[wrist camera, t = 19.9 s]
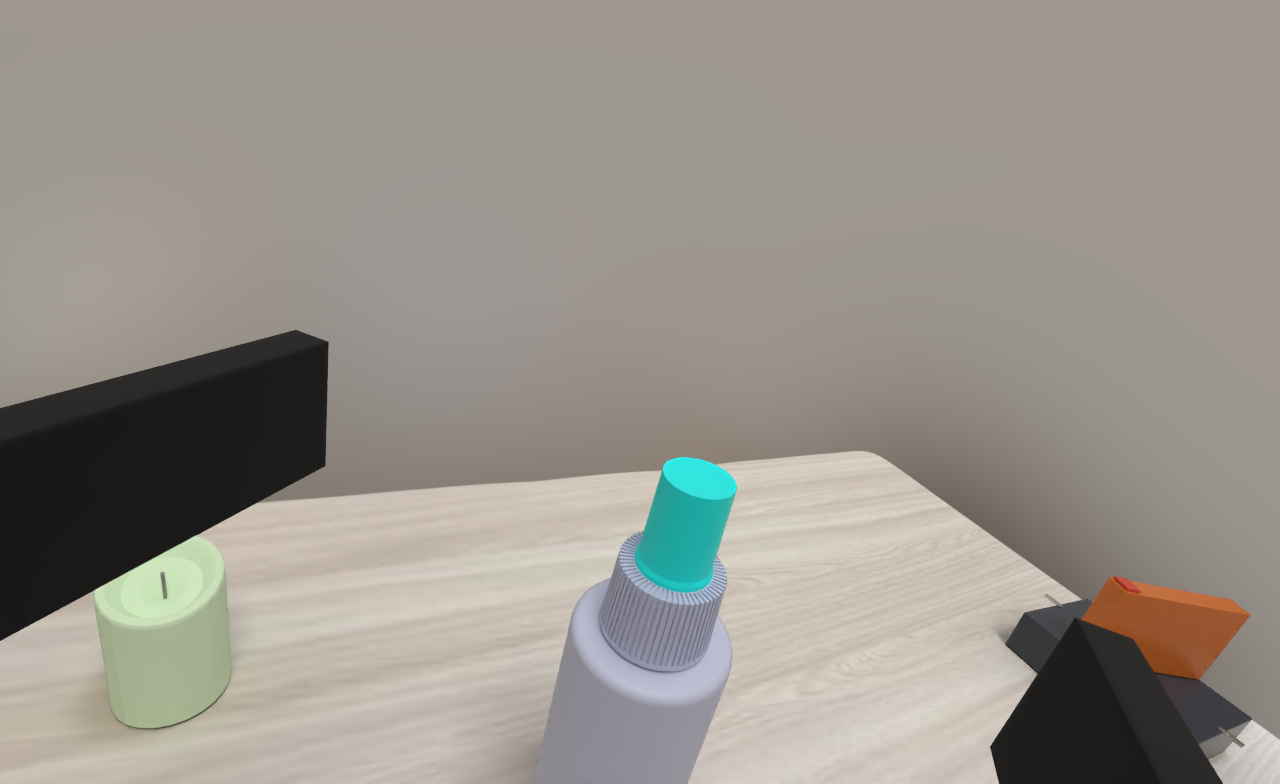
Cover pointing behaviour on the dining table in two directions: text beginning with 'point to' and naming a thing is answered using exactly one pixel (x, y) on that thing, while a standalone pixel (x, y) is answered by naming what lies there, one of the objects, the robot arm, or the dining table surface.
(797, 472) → the dining table surface
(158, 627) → the candle
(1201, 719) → the dark square tile
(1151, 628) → the orange toy brick
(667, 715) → the spray bottle
